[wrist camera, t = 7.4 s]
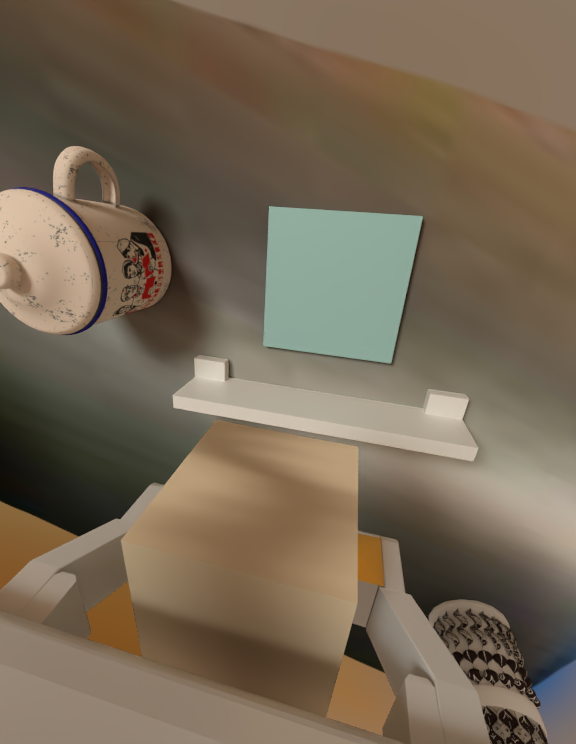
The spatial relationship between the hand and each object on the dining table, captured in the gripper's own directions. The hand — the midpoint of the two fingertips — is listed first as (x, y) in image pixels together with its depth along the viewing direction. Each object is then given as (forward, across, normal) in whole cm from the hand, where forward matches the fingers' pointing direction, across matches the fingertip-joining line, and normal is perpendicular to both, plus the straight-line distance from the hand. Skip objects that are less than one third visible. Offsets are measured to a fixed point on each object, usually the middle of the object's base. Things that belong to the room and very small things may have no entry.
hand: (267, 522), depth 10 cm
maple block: (+2, 0, 0) cm, 2 cm away
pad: (+19, 0, -5) cm, 20 cm away
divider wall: (+19, 0, +5) cm, 20 cm away
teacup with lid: (+19, +18, -7) cm, 27 cm away
